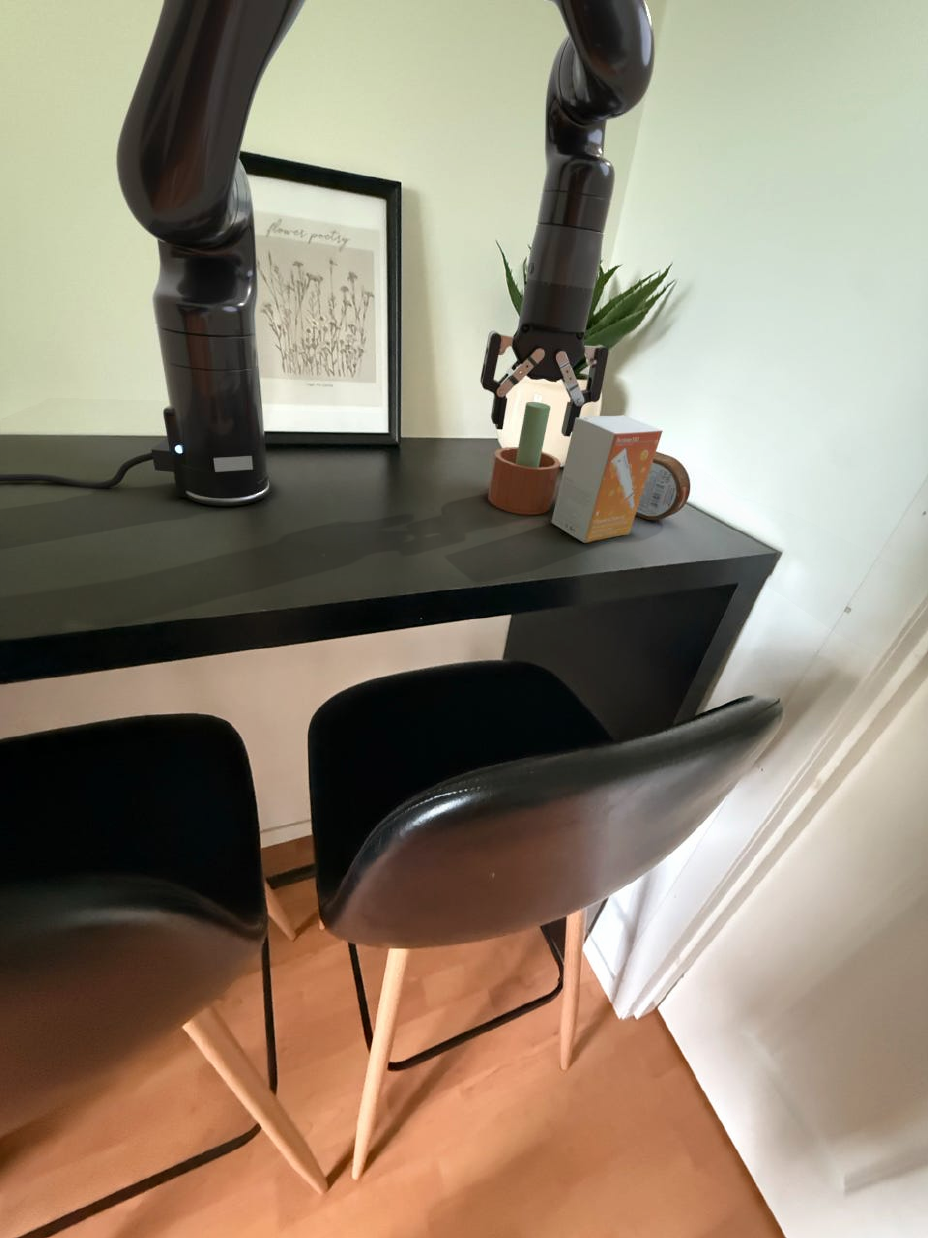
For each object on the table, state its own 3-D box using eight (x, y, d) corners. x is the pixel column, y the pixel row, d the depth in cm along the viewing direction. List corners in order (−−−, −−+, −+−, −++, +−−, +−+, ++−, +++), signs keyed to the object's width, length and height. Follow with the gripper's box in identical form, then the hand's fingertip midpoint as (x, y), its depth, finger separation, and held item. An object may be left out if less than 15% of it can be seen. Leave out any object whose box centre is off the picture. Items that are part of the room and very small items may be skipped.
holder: (491, 511, 70) (499, 465, 67) (485, 487, 77) (491, 444, 73) (556, 517, 71) (566, 471, 68) (543, 492, 78) (552, 450, 74)
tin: (679, 525, 74) (701, 463, 69) (668, 531, 72) (691, 467, 67) (584, 488, 81) (599, 430, 77) (572, 492, 79) (587, 433, 75)
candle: (511, 501, 72) (528, 406, 65) (508, 493, 75) (524, 400, 68) (533, 503, 72) (552, 409, 66) (529, 495, 75) (547, 403, 68)
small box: (584, 545, 65) (614, 433, 58) (549, 522, 69) (573, 415, 62) (631, 535, 69) (664, 429, 62) (595, 514, 73) (623, 413, 66)
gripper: (613, 286, 64) (579, 429, 73) (492, 268, 62) (472, 417, 71) (634, 291, 58) (594, 446, 67) (500, 271, 56) (478, 434, 65)
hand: (532, 431), depth 69 cm, fingers open, 8 cm apart
